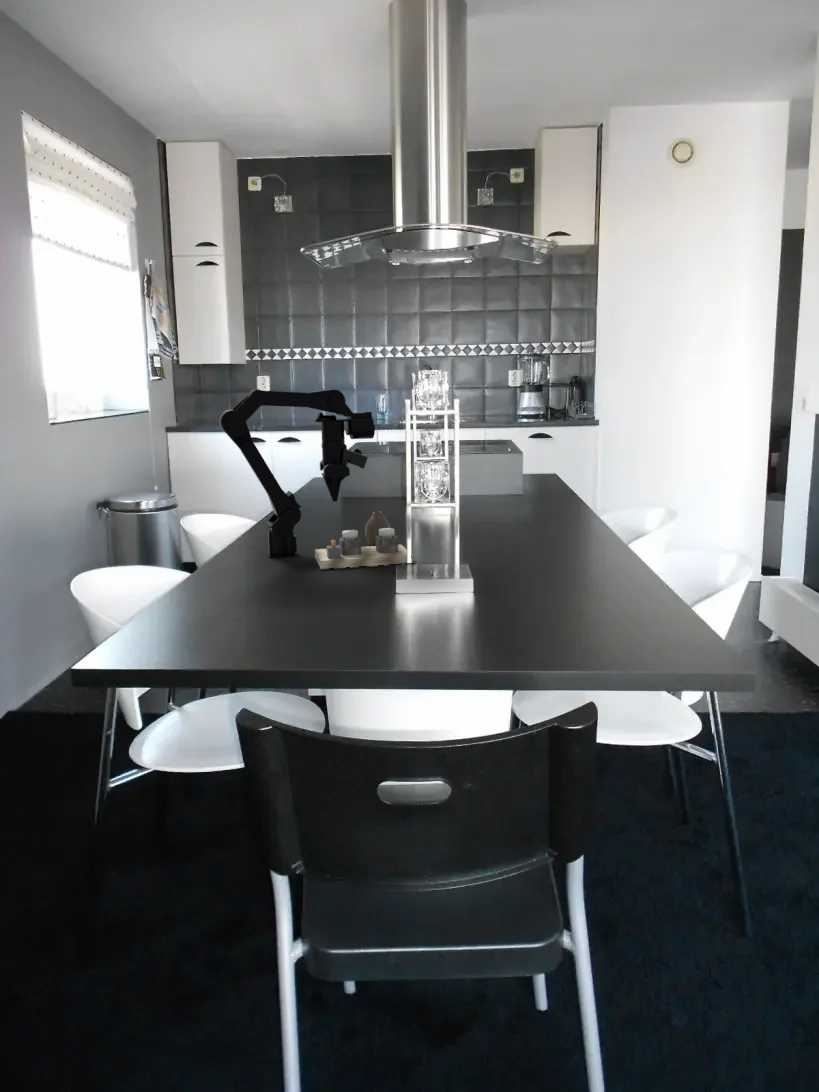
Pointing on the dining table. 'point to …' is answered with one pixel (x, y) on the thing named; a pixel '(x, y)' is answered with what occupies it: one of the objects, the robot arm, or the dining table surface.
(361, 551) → the mount board
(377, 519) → the vase
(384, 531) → the knob
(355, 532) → the knob
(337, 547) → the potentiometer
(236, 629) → the dining table surface
